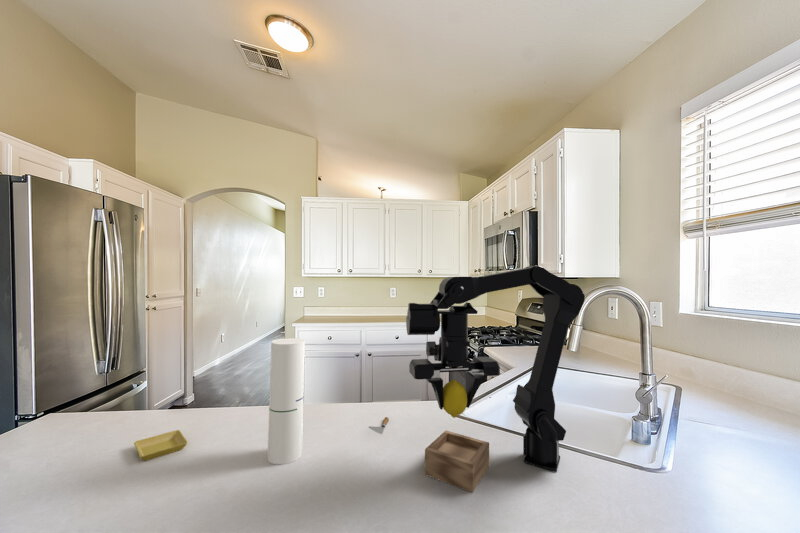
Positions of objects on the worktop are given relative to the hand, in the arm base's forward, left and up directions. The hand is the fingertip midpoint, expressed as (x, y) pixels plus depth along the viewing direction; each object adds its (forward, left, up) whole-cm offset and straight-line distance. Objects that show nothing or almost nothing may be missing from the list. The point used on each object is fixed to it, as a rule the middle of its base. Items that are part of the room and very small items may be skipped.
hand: (454, 407), depth 70 cm
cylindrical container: (+32, +18, -12) cm, 39 cm away
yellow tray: (+57, +32, -13) cm, 67 cm away
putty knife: (+23, -4, -13) cm, 27 cm away
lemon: (0, 0, -2) cm, 2 cm away
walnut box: (-2, +2, -12) cm, 12 cm away
